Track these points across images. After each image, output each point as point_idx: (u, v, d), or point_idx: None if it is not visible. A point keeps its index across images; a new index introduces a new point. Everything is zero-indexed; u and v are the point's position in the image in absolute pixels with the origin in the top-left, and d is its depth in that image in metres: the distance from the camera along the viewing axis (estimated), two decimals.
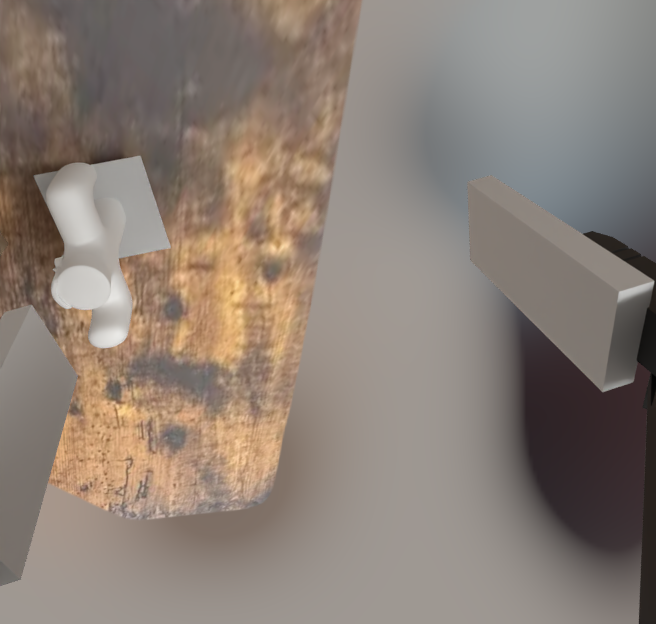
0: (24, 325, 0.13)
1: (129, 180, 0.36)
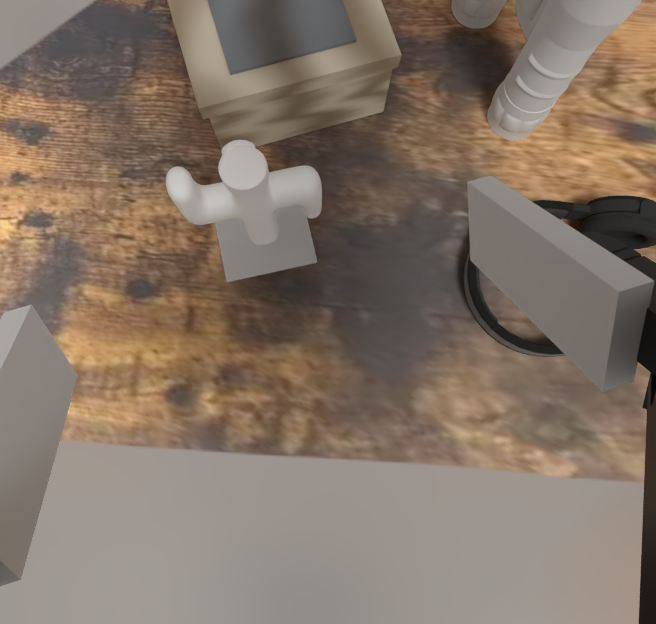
0: (24, 325, 0.13)
1: (294, 251, 0.40)
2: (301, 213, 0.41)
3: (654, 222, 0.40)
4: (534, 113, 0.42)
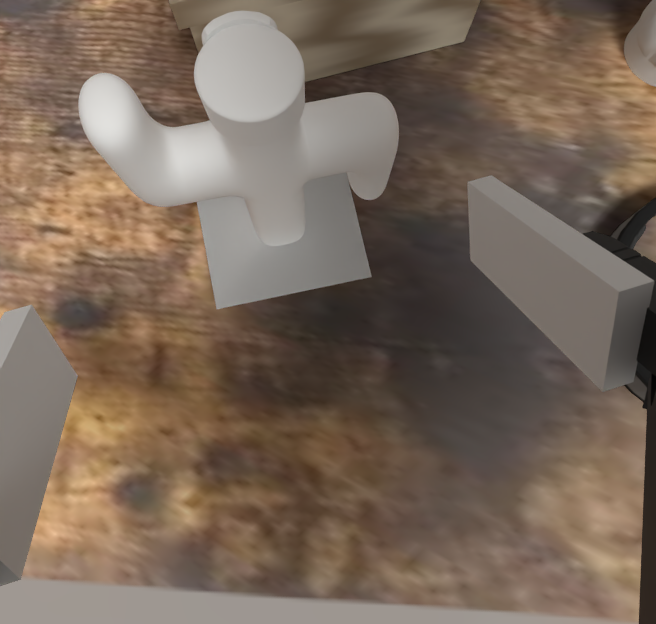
0: (24, 325, 0.13)
1: (332, 257, 0.24)
2: (343, 193, 0.24)
3: None
4: None
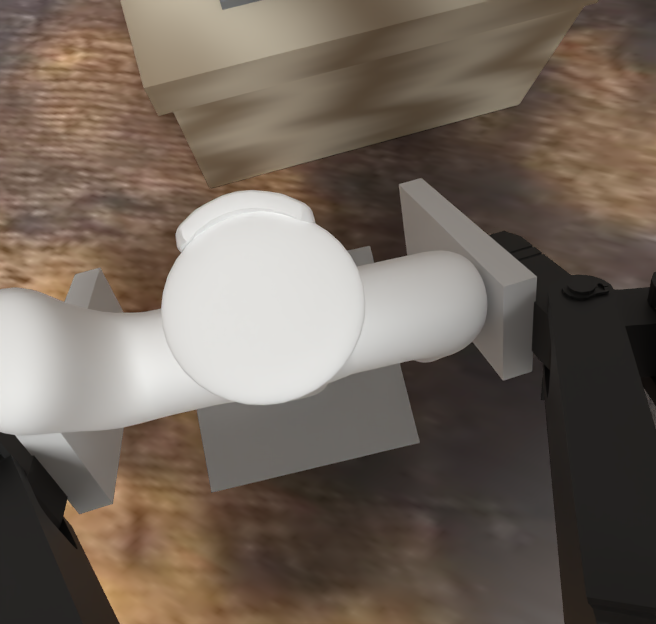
0: (96, 284, 0.14)
1: (366, 415, 0.18)
2: None
3: None
4: None
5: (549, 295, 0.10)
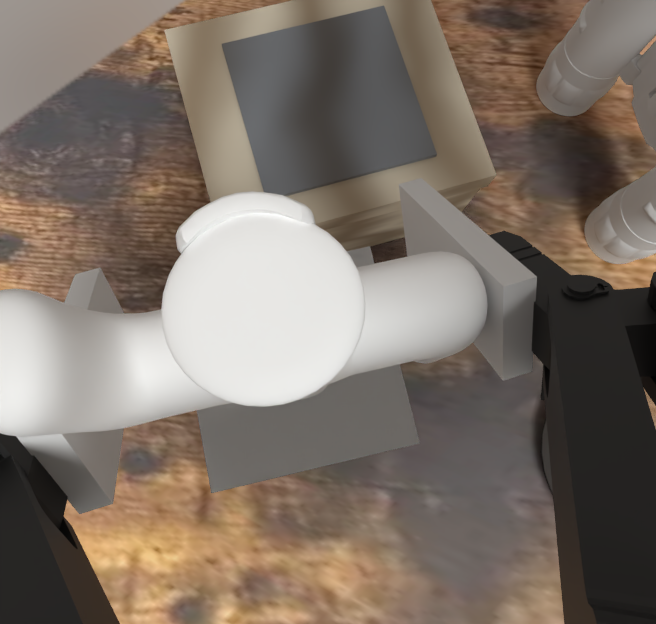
0: (96, 284, 0.14)
1: (366, 416, 0.18)
2: None
3: None
4: None
5: (549, 295, 0.10)
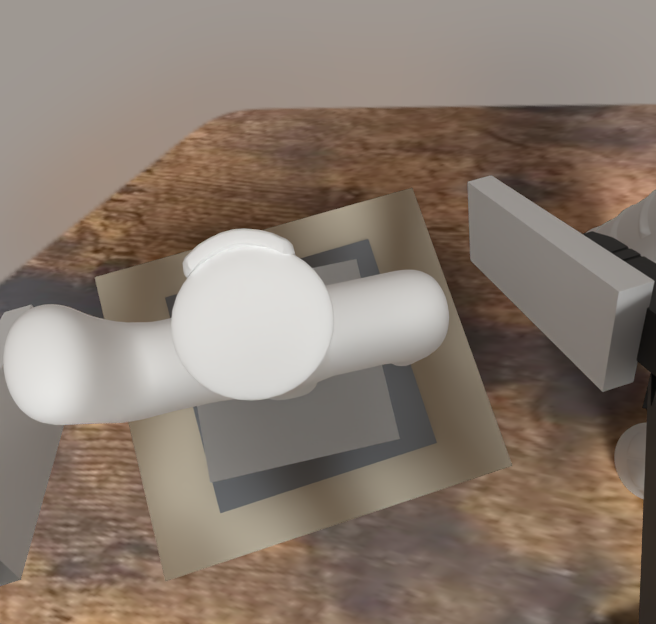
0: None
1: (351, 414, 0.19)
2: None
3: None
4: None
5: None
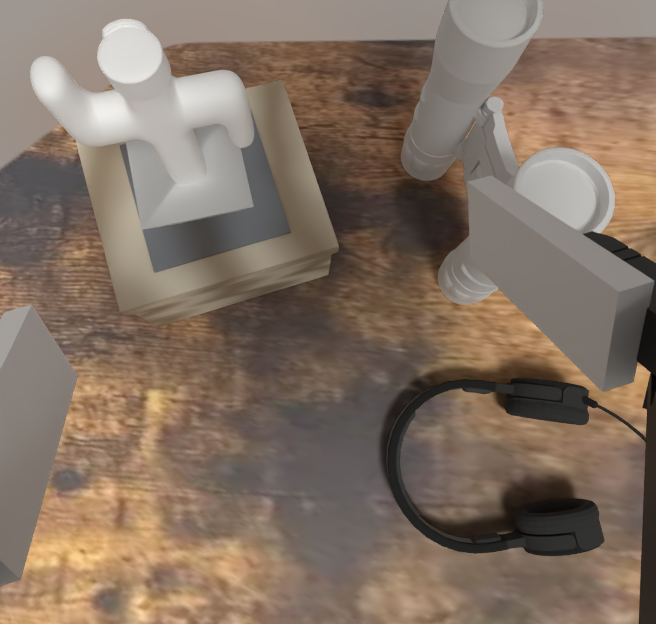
0: (24, 325, 0.13)
1: (225, 193, 0.33)
2: (235, 148, 0.34)
3: (577, 411, 0.38)
4: (483, 293, 0.40)
5: None
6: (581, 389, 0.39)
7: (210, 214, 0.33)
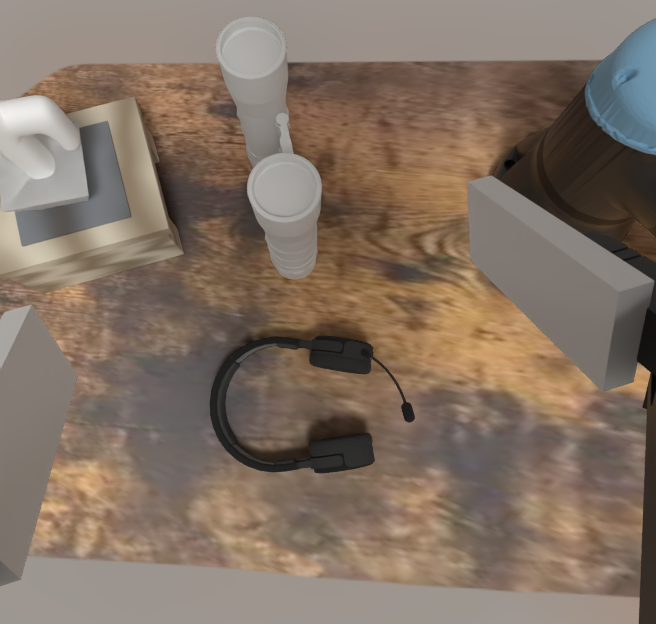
0: (24, 325, 0.13)
1: (68, 185, 0.44)
2: (78, 151, 0.44)
3: (355, 360, 0.48)
4: (293, 268, 0.50)
5: None
6: (360, 344, 0.48)
7: (55, 201, 0.43)
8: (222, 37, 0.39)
